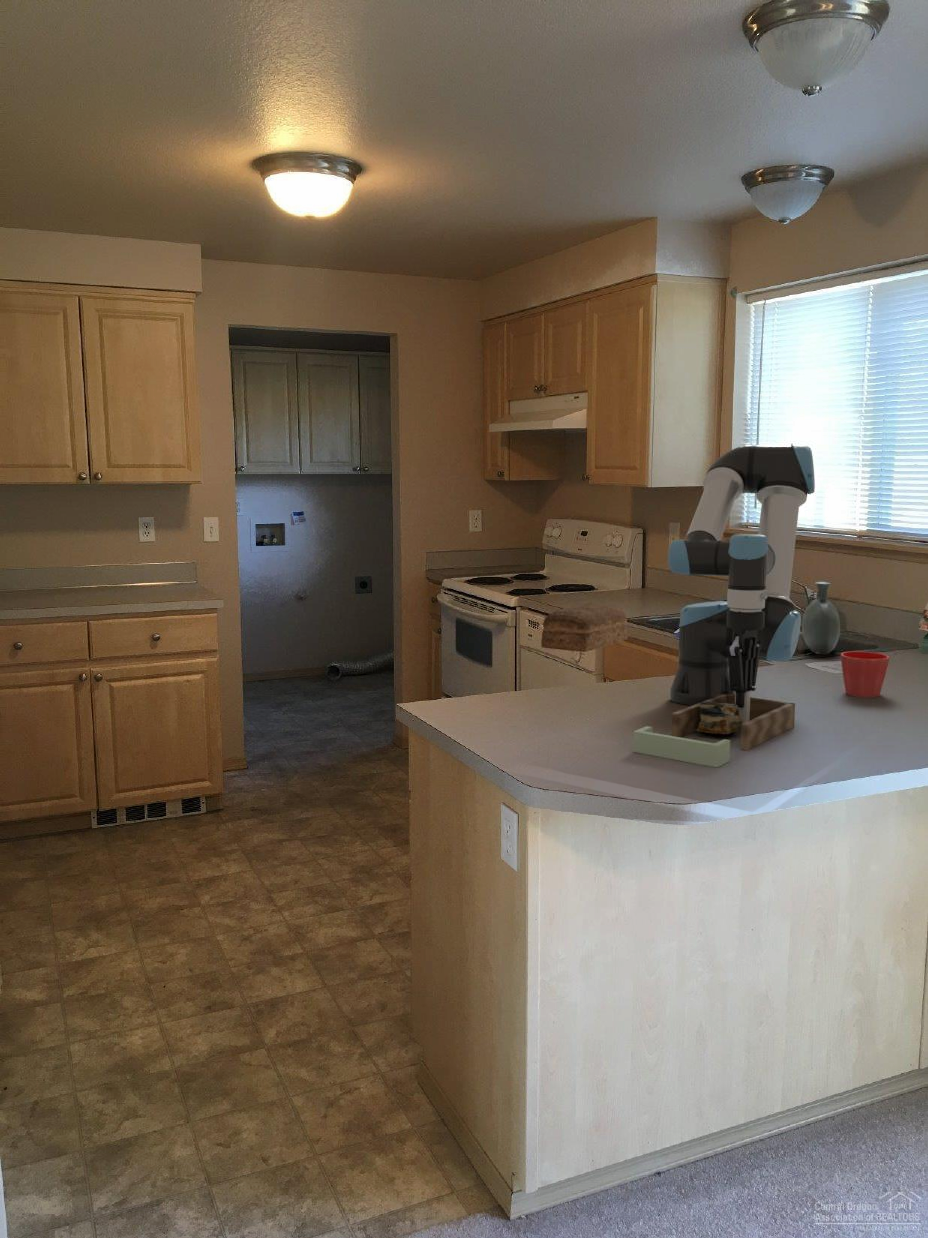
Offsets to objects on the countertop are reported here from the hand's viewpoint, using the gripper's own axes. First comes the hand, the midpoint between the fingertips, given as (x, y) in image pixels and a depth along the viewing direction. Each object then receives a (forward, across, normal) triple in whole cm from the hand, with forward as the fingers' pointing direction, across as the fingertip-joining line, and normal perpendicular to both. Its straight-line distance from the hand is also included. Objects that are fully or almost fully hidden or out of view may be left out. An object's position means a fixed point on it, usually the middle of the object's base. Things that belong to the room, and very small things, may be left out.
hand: (741, 721), depth 210 cm
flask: (+1, +101, +19) cm, 102 cm away
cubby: (+2, -4, 0) cm, 4 cm away
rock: (+2, -10, 0) cm, 10 cm away
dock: (+2, -30, 0) cm, 30 cm away
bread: (+2, +71, +83) cm, 109 cm away
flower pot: (+2, +52, -9) cm, 52 cm away
